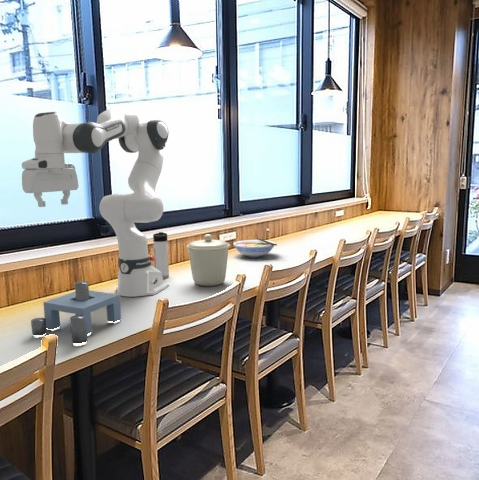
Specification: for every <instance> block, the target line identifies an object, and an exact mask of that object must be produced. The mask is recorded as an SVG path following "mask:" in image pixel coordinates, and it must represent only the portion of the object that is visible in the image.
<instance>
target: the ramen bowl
mask: <svg viewBox="0 0 479 480" xmlns="http://www.w3.org/2000/svg"><path fill="white" fill-rule="evenodd" d="M233 245H234V247H235V249H236V250H237V252H238V253H240V254H241V255H244V256H246V257H248V258H261V257H262V256H264V255H267V254H269V253H270V252H271V251H272V250H273V248H274V247H275V246H277V243H276V242H274V241H272V240H266V239H261V238H258V239H244V240H238V241H235V242H233Z"/></svg>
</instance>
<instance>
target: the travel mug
mask: <svg viewBox="0 0 479 480" xmlns="http://www.w3.org/2000/svg"><path fill="white" fill-rule="evenodd" d="M152 237H153V240H152V241H153V256H154V257H155V260H154V261H153V266H154V267H155V268H156V269H158V270H159V271H160V272H161V273H162V277H163V280H165V279H168V278H169V277H170V270H169V268H170V267H169V243H168V242H169V241H168V233H165V232H161V231H159V232H156V233H154V234H153V235H152Z"/></svg>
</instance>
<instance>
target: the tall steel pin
mask: <svg viewBox="0 0 479 480" xmlns="http://www.w3.org/2000/svg"><path fill="white" fill-rule="evenodd" d="M89 290H90V287H89V281H86V280H84V281H83V280H81V281H76V282H74V292H75V294H76V301H81V302H83V301H86V300H89Z"/></svg>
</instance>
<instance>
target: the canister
mask: <svg viewBox="0 0 479 480" xmlns="http://www.w3.org/2000/svg"><path fill="white" fill-rule="evenodd" d="M230 246H231V244H230V243H228V242H227V241H224V240H220V239H213V235H212V234H209V233H208V234H207V233H206V234H205V235H204V236H203V239H198V240H194V241H191V242H190V243H189V244H187V245H186V248H187V249H188V256H189V263H190V270H191V276H192V280H193V283H195V284H196V285H199V286H203V287H213V286H219V285H221V284H223V283H224V282H225V280H226V277H227V268H228V266H227V265H228V258H229V255H228V254H229V247H230Z"/></svg>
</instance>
